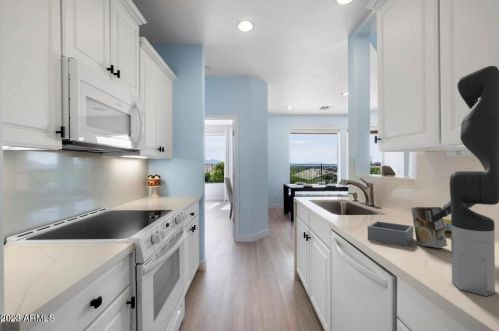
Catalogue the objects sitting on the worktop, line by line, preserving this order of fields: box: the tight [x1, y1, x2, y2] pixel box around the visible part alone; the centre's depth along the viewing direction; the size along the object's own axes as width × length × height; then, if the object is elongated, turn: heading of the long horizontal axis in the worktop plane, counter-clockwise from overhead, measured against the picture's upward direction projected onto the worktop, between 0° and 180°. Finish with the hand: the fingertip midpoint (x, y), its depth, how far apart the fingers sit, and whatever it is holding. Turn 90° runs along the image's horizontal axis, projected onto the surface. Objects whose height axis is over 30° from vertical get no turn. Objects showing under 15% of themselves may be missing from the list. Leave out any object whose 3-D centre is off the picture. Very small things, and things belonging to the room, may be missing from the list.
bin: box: [367, 220, 414, 247], centre depth 116 cm, size 14×16×6 cm
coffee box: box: [411, 206, 448, 249], centre depth 105 cm, size 9×6×16 cm
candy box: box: [442, 217, 451, 237], centre depth 123 cm, size 16×2×8 cm, turn 21°
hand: (434, 218), depth 104 cm, fingers closed on coffee box, 7 cm apart
